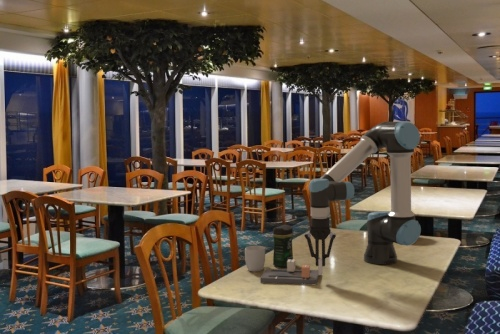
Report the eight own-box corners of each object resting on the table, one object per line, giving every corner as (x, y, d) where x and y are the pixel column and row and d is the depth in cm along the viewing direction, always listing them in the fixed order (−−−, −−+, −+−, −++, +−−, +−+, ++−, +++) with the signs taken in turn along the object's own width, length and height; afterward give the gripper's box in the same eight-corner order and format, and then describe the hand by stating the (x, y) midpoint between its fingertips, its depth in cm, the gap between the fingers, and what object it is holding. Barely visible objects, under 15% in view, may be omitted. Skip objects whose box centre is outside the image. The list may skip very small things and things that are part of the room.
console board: (318, 274, 237) (318, 269, 237) (316, 284, 223) (316, 279, 222) (266, 272, 242) (265, 267, 241) (260, 283, 227) (260, 277, 227)
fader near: (309, 274, 228) (309, 264, 228) (309, 277, 224) (309, 267, 224) (302, 274, 229) (302, 264, 228) (301, 277, 225) (301, 267, 225)
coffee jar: (285, 269, 247) (285, 228, 245) (270, 266, 251) (269, 226, 250) (296, 263, 255) (295, 224, 253) (281, 261, 259) (280, 222, 258)
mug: (259, 273, 241) (259, 251, 240) (241, 271, 245) (241, 249, 244) (272, 266, 252) (271, 244, 251) (255, 264, 256) (254, 243, 255)
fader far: (295, 269, 237) (295, 259, 237) (294, 271, 234) (294, 261, 233) (288, 268, 238) (288, 259, 238) (287, 271, 234) (286, 261, 234)
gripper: (336, 215, 226) (336, 271, 228) (304, 215, 228) (305, 270, 230) (335, 218, 218) (336, 277, 220) (303, 218, 221) (303, 276, 223)
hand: (320, 273), depth 225 cm, fingers closed
